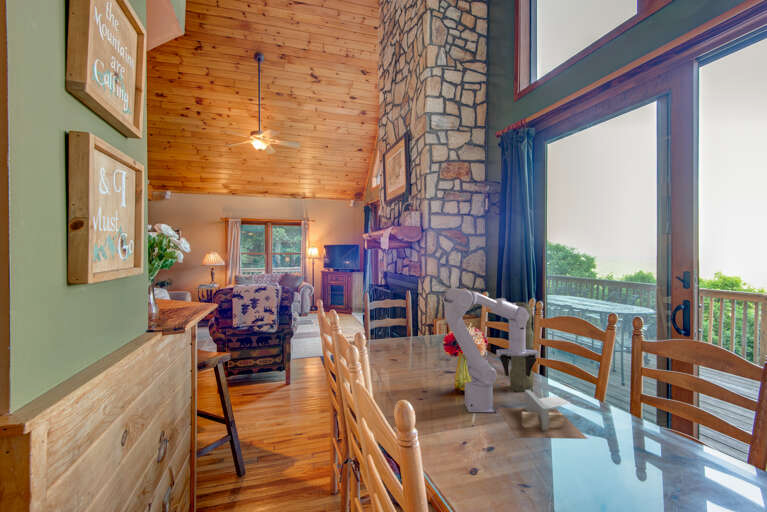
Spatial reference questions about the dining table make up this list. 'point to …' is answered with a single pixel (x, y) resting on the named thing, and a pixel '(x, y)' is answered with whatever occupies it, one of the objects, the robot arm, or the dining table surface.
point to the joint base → (539, 432)
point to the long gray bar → (537, 408)
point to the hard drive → (554, 401)
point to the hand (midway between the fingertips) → (517, 375)
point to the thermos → (523, 357)
